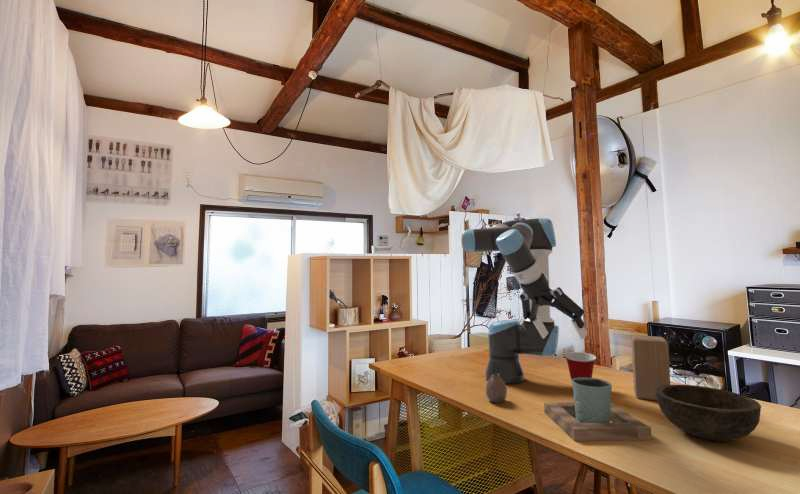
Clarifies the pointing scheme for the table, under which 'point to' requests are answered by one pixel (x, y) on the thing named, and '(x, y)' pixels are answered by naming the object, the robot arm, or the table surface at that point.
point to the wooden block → (649, 365)
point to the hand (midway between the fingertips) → (564, 336)
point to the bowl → (709, 411)
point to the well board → (597, 424)
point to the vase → (496, 389)
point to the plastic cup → (580, 364)
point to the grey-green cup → (592, 400)
